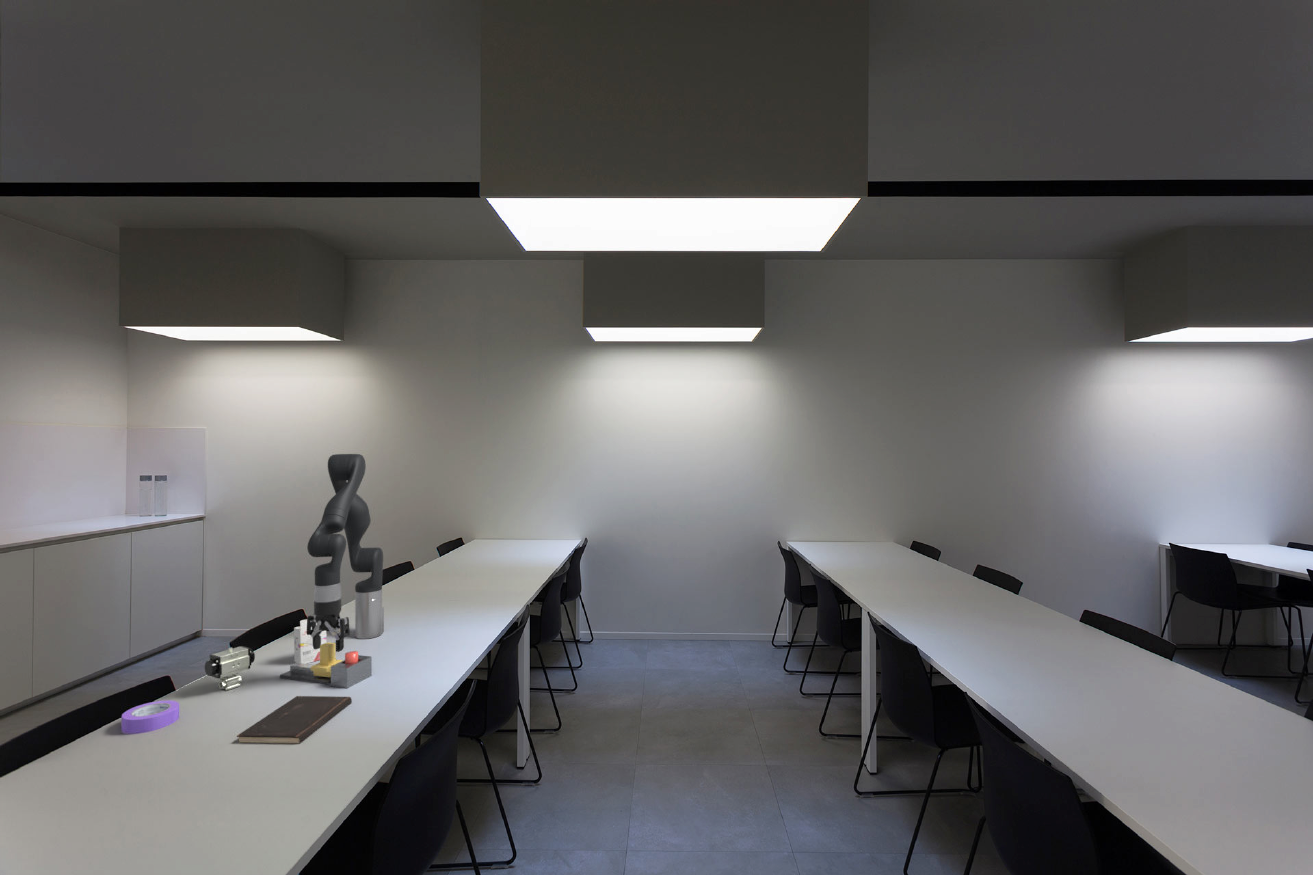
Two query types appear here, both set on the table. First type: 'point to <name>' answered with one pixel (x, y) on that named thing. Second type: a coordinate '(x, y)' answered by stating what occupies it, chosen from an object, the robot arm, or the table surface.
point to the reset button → (351, 657)
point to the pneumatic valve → (229, 666)
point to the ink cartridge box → (306, 644)
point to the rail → (304, 674)
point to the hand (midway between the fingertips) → (328, 649)
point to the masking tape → (150, 717)
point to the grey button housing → (351, 672)
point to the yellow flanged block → (325, 660)
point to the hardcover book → (295, 720)
